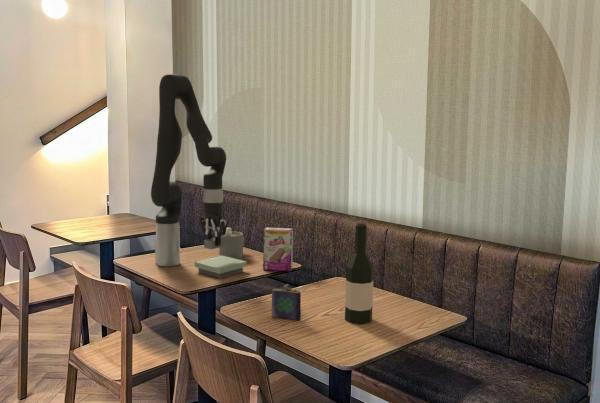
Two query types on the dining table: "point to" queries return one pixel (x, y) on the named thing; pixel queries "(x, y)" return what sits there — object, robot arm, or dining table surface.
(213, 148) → the robot arm
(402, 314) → the dining table surface
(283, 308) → the flask
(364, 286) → the wine bottle
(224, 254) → the coffee mug
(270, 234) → the candy bar box
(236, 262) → the green lidded box
